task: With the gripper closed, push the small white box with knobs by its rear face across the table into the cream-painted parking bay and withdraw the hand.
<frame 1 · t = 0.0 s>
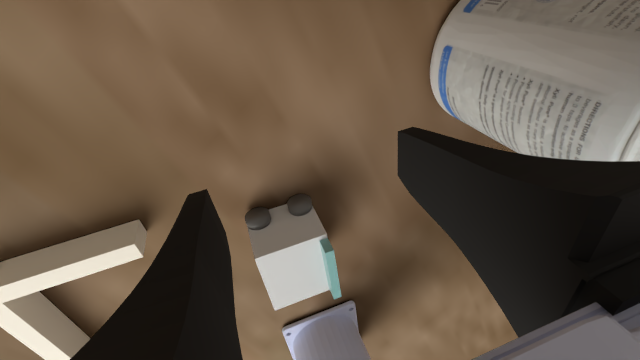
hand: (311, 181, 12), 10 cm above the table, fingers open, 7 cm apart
bay: (118, 291, 24), on the table
white box with knobs: (284, 233, 27), on the table
supplement tub: (480, 48, 24), on the table
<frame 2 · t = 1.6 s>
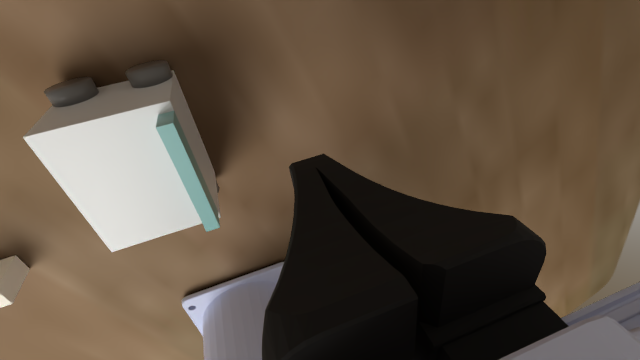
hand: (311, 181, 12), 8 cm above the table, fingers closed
white box with knobs: (147, 138, 17), on the table
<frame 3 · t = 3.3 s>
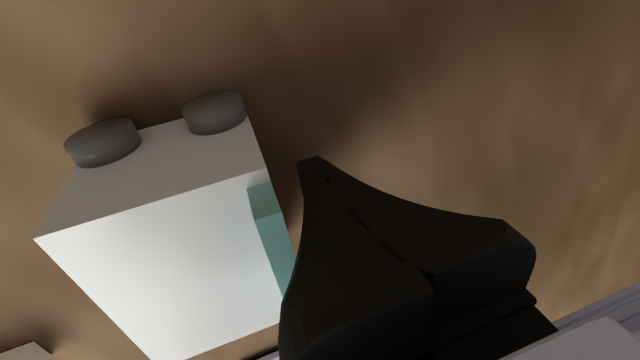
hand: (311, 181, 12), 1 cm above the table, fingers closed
white box with knobs: (201, 193, 12), on the table, touching gripper
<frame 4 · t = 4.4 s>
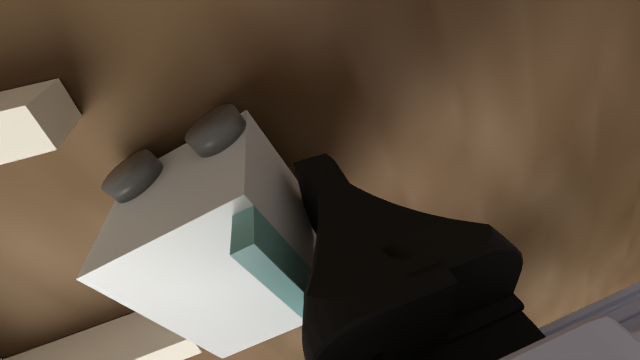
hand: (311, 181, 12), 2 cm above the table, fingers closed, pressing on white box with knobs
bay: (36, 256, 12), on the table
white box with knobs: (236, 198, 13), on the table, tilted 10°, touching gripper
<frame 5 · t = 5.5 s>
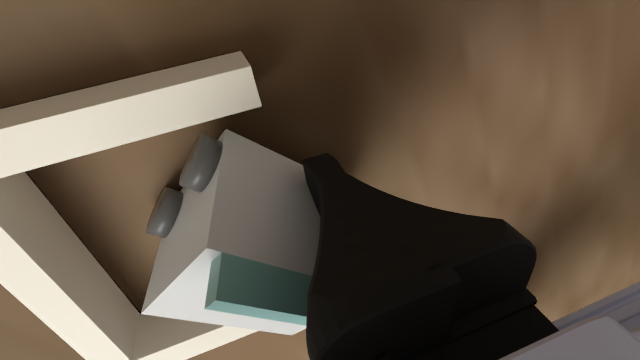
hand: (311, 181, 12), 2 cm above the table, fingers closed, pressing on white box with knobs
bay: (187, 214, 14), on the table
white box with knobs: (264, 198, 14), point 1 cm above the table, tilted 22°, touching bay, gripper
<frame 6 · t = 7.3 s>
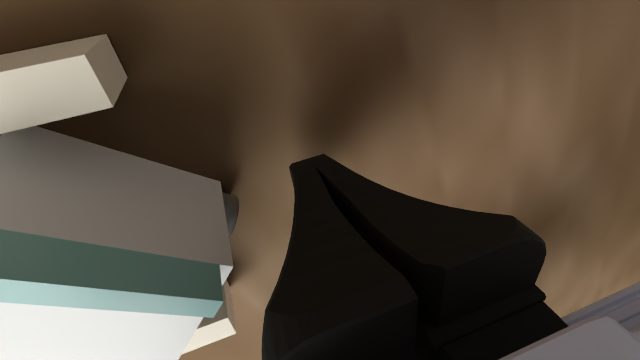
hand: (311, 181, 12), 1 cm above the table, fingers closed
bay: (69, 230, 11), on the table
white box with knobs: (111, 212, 12), on the table
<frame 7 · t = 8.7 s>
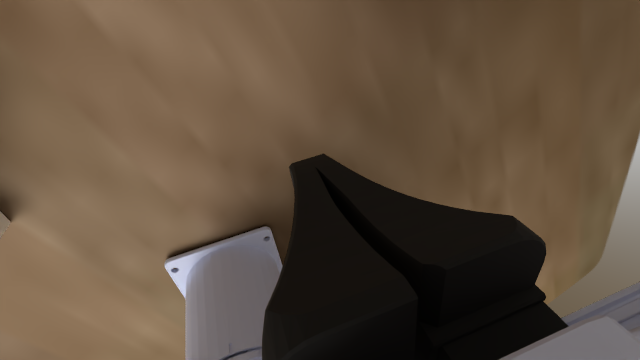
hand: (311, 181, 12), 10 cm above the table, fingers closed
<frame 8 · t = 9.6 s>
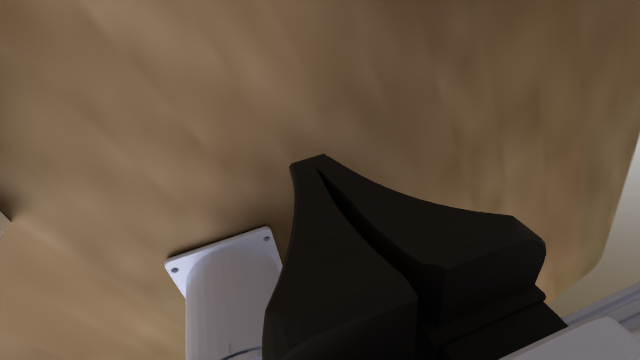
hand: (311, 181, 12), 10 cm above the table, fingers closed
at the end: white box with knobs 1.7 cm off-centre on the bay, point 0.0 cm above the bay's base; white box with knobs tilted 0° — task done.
